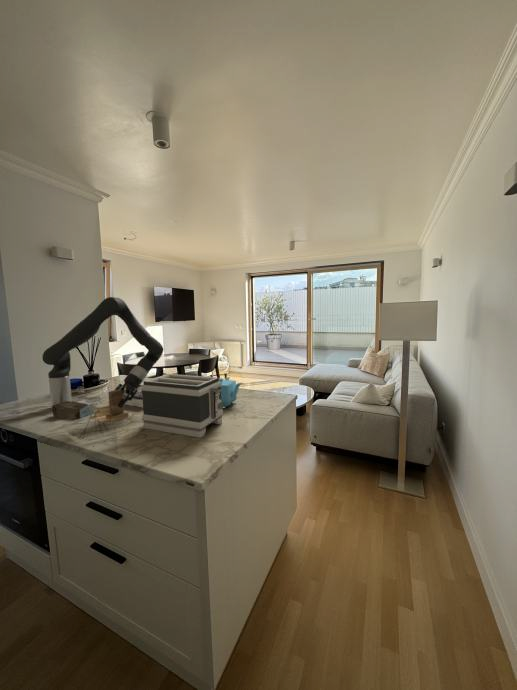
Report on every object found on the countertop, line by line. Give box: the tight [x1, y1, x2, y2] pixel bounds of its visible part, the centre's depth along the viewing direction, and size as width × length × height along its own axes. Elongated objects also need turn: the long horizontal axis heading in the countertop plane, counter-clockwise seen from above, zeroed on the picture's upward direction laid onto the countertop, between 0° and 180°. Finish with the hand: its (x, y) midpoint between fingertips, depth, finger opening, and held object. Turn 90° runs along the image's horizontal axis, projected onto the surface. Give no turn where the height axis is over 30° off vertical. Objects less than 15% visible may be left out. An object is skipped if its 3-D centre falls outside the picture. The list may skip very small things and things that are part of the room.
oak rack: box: [90, 403, 135, 425], centre depth 135 cm, size 16×13×5 cm
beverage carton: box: [51, 401, 95, 419], centre depth 139 cm, size 8×19×7 cm, turn 71°
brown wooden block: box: [107, 389, 125, 417], centre depth 132 cm, size 3×5×13 cm, turn 143°
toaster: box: [141, 373, 224, 439], centre depth 124 cm, size 18×34×21 cm, turn 68°
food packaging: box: [123, 384, 143, 409], centre depth 159 cm, size 25×8×23 cm
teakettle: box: [218, 376, 244, 407], centre depth 153 cm, size 19×19×15 cm
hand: (114, 405), depth 131 cm, fingers open, 8 cm apart
